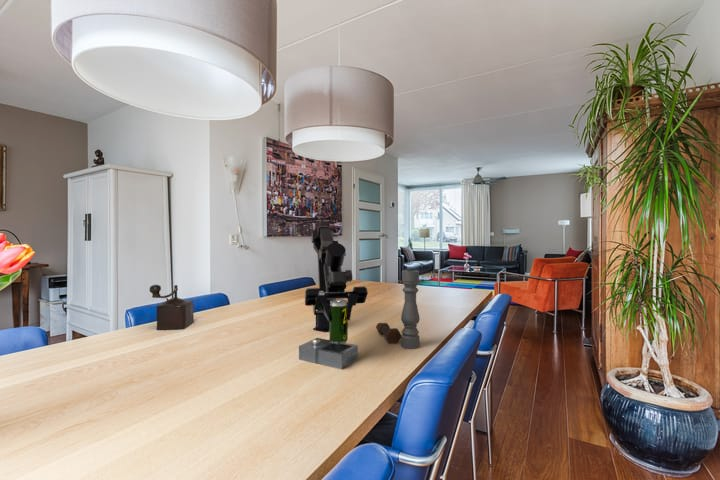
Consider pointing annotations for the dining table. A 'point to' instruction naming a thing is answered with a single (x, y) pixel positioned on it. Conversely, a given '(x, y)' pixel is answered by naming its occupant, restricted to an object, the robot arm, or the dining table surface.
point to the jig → (328, 353)
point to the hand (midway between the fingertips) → (339, 320)
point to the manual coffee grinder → (173, 311)
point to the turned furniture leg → (410, 310)
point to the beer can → (338, 321)
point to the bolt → (389, 333)
